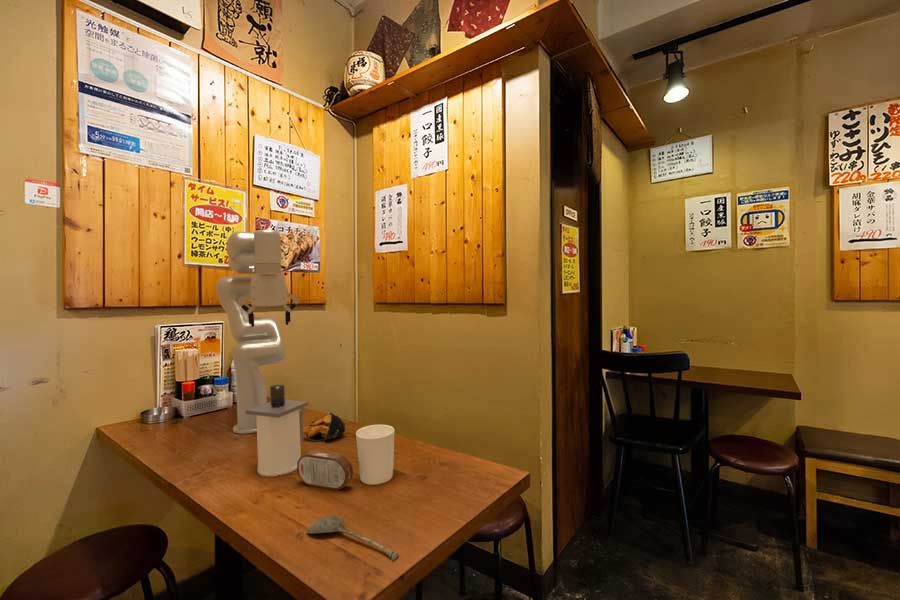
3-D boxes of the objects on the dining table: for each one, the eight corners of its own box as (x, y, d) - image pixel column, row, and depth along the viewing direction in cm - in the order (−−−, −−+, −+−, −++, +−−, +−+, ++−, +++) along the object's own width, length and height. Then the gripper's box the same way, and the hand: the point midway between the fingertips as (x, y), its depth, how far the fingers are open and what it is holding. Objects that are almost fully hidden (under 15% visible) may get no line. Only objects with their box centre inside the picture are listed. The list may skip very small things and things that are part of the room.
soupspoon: (326, 520, 83) (300, 538, 77) (325, 505, 83) (298, 522, 77) (407, 550, 71) (383, 574, 66) (405, 532, 71) (381, 555, 66)
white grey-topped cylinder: (286, 452, 117) (284, 396, 116) (316, 457, 113) (314, 399, 112) (247, 473, 104) (245, 410, 103) (280, 479, 100) (278, 413, 100)
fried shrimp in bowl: (348, 427, 124) (290, 417, 117) (337, 454, 127) (280, 445, 120) (348, 409, 132) (294, 399, 126) (338, 434, 135) (285, 425, 129)
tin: (354, 487, 95) (353, 453, 95) (346, 493, 92) (345, 458, 92) (304, 479, 100) (302, 446, 99) (295, 485, 97) (294, 451, 97)
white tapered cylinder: (362, 490, 93) (361, 441, 93) (353, 473, 102) (351, 428, 102) (401, 480, 98) (399, 433, 97) (388, 465, 106) (387, 422, 106)
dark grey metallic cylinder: (279, 439, 112) (277, 382, 112) (300, 442, 109) (298, 383, 109) (257, 450, 105) (255, 388, 104) (279, 453, 102) (277, 390, 102)
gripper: (235, 269, 113) (237, 328, 113) (298, 269, 120) (300, 324, 120) (237, 271, 119) (239, 326, 120) (297, 271, 127) (299, 323, 127)
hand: (270, 325), depth 120 cm, fingers open, 9 cm apart
